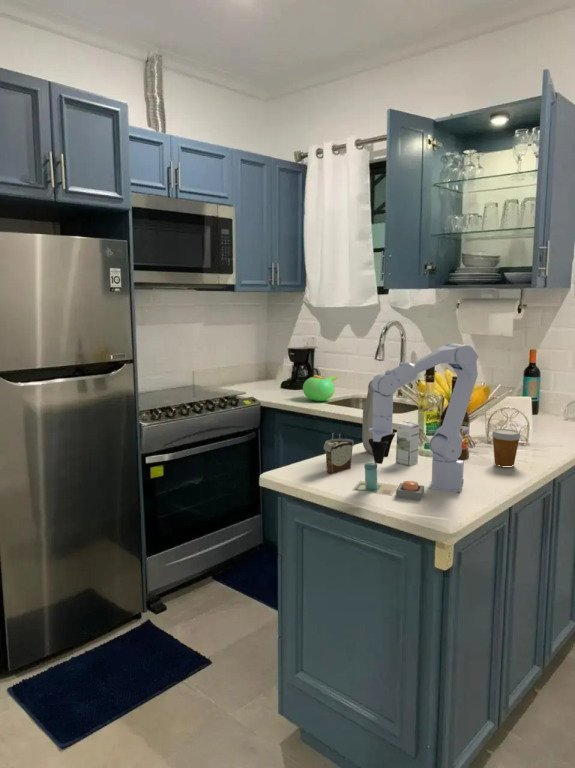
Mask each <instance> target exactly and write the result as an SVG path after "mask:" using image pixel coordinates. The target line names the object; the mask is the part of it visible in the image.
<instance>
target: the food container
mask: <svg viewBox="0 0 575 768" xmlns="http://www.w3.org/2000/svg"><path fill="white" fill-rule="evenodd" d="M353 447H355V443H354V440H353V439H350V438H349V439H348V438H332V439H328V440H326V441H325V442H324V445H323V450H324V452H325V460H326V461H325V462H326V473H327V474H329V475H333V474H337V473H341V472H343V471H346V470H350V469H352V458H353Z"/></svg>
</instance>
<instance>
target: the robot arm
mask: <svg viewBox="0 0 575 768" xmlns="http://www.w3.org/2000/svg"><path fill="white" fill-rule="evenodd" d="M478 359H479V355H478V353H477V352H476V350H475V349H474V347H473V346H471V345H469V344H459V343H455V342H450V343H446V344H444V345H442V346H440V347H439V348H437V349H436V350H433V351H432V352H430V353H428V354H427V355H425V356H423V357H421V358H420V359H418V360H416V361H415V362H413V363H411V362H407V361H406V362H403V361H401V362H400V363H399V364H398V366H396V367H393V368H392V369H387V370H385V371H384V372H385V373H378V374H376V375H374V377H373V378H372V383H370V382H369V383H370V386H371V389H372V390H373V392H374V398H373V428H369V432H372V433H373V439H369V444H370V446H371V449H372V452H373V454H372V457H373V461H374V462H373V463H376V464H377V465H378V464H379V465H382V464H383V462H384V458H388V457H389V454H390V449H391V445H392V442H393V440H394V438H395V435H396V433H394V430H393V413H394V412H393V411H394V394H395V393H396V392H397V390H398V389H399V388H401V387H403V386H406V385H407V384H409V383H411V382H413V381H415V380H416V379H417V377H418V375H419V373H423V372H425V371H427V370H429V369H431V368H434V367H435V366H438V365H440V364H447V365H448V366H450V368H452V369H453V371H454V373H455V375H456V376H457V377H456V381H455V383H454V387H453V390H452V393H451V397H450V400H449V402H448V405H447V409H446V412H445V415H444V418H443V420H442V425H440V426H439V427H438V428H437V429H435V432H434V435H433V436H432V437H431V438H430V440H429V442H428V443H429V444H428V445H429V447H428V448H429V450H430V451H431V452H432V460H431V461H432V465H431V481H430V483H429V485H428V489H432V490H440V491H449V492H456V493H461V492H462V489H463V487H464V486H463V485H464V482H465V481H464V468H465V467H464V466H465V465H464V464H465V462H464V460H462V459H459V458H460V457H461V456H462V453H463V452H462V451H463V449H462V443H463V440H464V438H463V436H462V434H461V427H462V425H463V422H464V419H465V416H466V413H467V409H468V407H469V404H470V401H471V398H472V394H473V391H474V388H475V385H476V382H477V378H478V373H479V372H478V366H477V361H478Z"/></svg>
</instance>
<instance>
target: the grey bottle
mask: <svg viewBox="0 0 575 768" xmlns="http://www.w3.org/2000/svg"><path fill="white" fill-rule="evenodd" d="M372 380H373V379H372ZM372 380H370V381H369V383H368V385H367V394H366V399H365V402H364V405H363V409H362V432H361V433H362V436H361V437H362V438H361V439H362V440H361V441H362V446H363V448H364V450H365V452H367V453H370V454H372V455H373V452H372V449H371V446H370V444H369V439H373V433H372V432H369V428H373V398H374V392H373V390H372V389H371V386H370V383H372Z"/></svg>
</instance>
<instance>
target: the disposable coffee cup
mask: <svg viewBox="0 0 575 768" xmlns="http://www.w3.org/2000/svg"><path fill="white" fill-rule="evenodd" d="M491 437H492V442H493V444H492V445H493V457H494V458H493V459H494V465H495V464H496V465H500V466H512V465H514V466H515V462H516V457H517V453H518V447H519V443H520V442H519V441H520V439H521V437H522V436H521V434H520V431H518V430H514V429H508V428H497V429H495V428H494V429H493V431H492V433H491ZM496 465H495V466H496Z"/></svg>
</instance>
